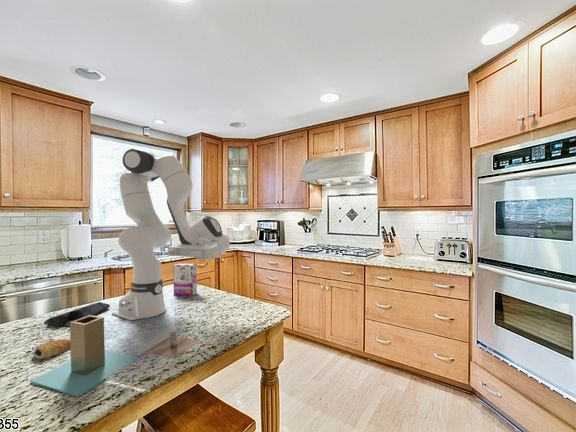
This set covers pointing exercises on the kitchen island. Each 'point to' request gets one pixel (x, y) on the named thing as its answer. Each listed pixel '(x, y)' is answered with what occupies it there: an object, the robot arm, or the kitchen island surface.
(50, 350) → the pastry
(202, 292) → the kitchen island surface
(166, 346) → the walnut stand
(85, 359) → the bronze sleeve
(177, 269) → the candy bar box
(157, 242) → the robot arm
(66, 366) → the teal hub plate
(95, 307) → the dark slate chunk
